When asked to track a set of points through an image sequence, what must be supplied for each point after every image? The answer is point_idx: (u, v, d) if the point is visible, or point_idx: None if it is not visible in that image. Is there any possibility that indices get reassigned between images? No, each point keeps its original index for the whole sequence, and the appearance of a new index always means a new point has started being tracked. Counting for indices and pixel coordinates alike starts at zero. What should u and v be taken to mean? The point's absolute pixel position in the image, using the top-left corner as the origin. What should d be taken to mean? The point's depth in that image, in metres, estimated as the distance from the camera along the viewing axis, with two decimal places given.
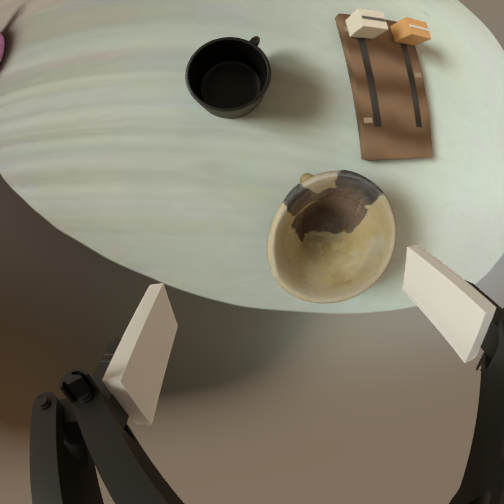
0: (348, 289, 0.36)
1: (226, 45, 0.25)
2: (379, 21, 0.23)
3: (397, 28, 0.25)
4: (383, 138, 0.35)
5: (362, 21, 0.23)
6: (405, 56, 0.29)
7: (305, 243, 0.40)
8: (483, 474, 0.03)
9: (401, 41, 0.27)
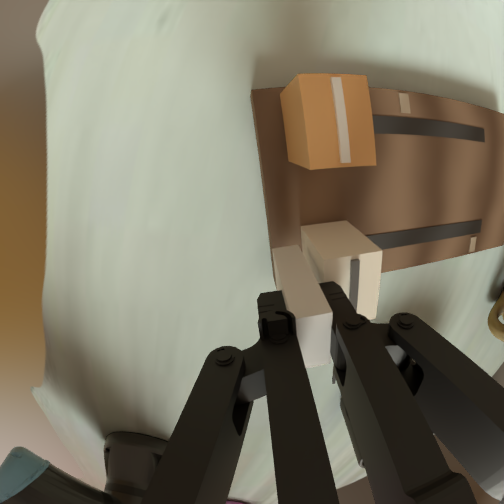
0: None
1: None
2: (361, 276, 0.12)
3: None
4: (492, 217, 0.17)
5: None
6: None
7: None
8: None
9: None
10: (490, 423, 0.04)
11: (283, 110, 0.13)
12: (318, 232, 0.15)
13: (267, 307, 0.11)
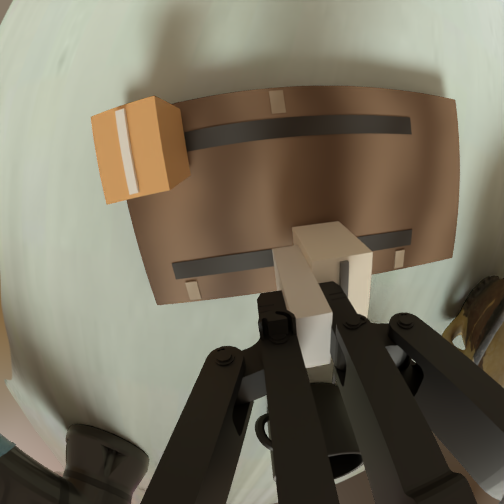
0: None
1: None
2: (351, 278, 0.12)
3: None
4: (430, 225, 0.17)
5: None
6: (226, 138, 0.15)
7: None
8: None
9: (185, 162, 0.14)
10: (490, 423, 0.04)
11: None
12: (309, 234, 0.15)
13: (267, 307, 0.11)
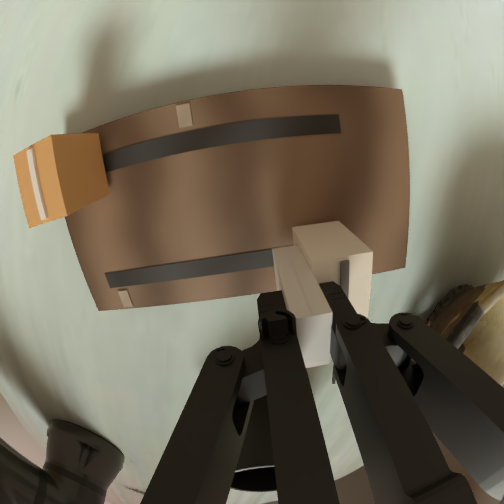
0: None
1: None
2: (351, 278, 0.12)
3: None
4: (371, 233, 0.17)
5: None
6: (139, 157, 0.15)
7: (467, 341, 0.22)
8: None
9: (101, 183, 0.14)
10: (490, 423, 0.04)
11: None
12: (309, 233, 0.15)
13: (267, 307, 0.11)
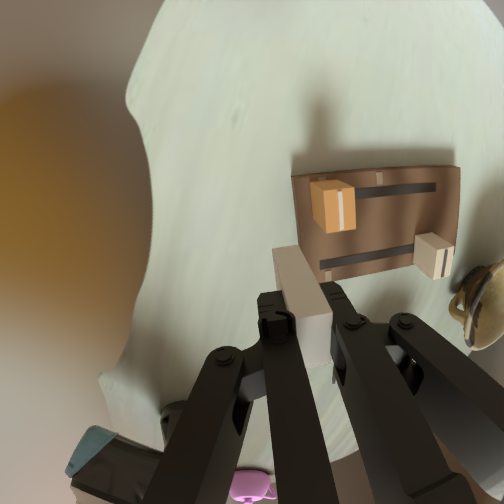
0: None
1: None
2: (447, 256, 0.26)
3: None
4: (442, 237, 0.31)
5: (445, 276, 0.27)
6: (355, 196, 0.29)
7: (483, 301, 0.36)
8: None
9: None
10: (490, 423, 0.04)
11: (311, 192, 0.28)
12: (425, 238, 0.29)
13: (267, 307, 0.11)
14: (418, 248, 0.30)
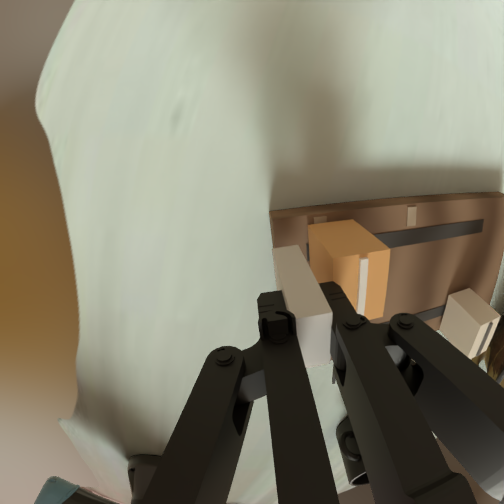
0: None
1: None
2: (489, 330, 0.15)
3: None
4: (479, 291, 0.20)
5: (481, 352, 0.16)
6: None
7: None
8: None
9: None
10: (490, 423, 0.04)
11: (310, 243, 0.16)
12: (463, 301, 0.18)
13: (267, 307, 0.11)
14: (451, 313, 0.19)
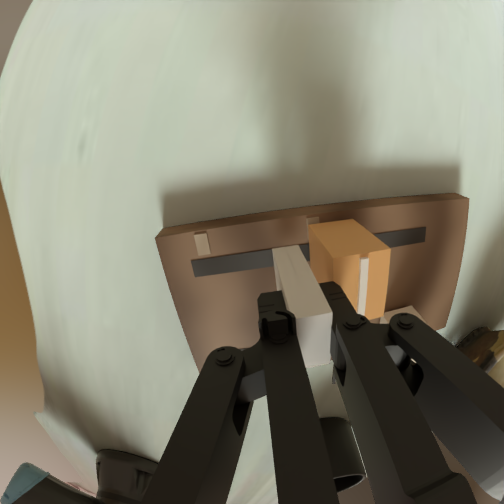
0: None
1: None
2: None
3: None
4: (428, 308, 0.20)
5: None
6: (267, 262, 0.18)
7: None
8: None
9: None
10: (490, 423, 0.04)
11: (310, 243, 0.16)
12: None
13: (267, 307, 0.11)
14: None
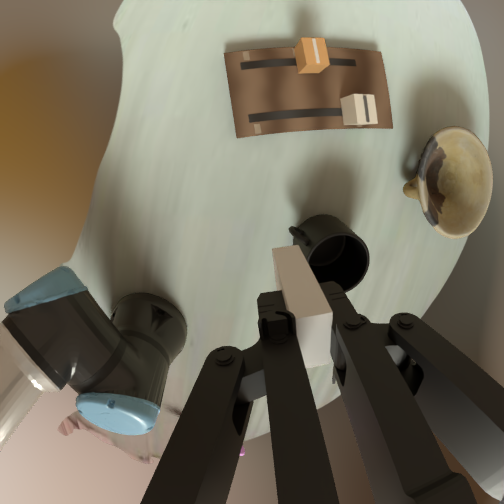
0: (486, 175, 0.31)
1: None
2: (368, 102, 0.29)
3: (308, 70, 0.30)
4: None
5: (372, 122, 0.30)
6: (275, 64, 0.31)
7: (446, 194, 0.38)
8: None
9: None
10: (490, 424, 0.04)
11: (295, 54, 0.30)
12: None
13: (267, 307, 0.11)
14: (344, 107, 0.32)
